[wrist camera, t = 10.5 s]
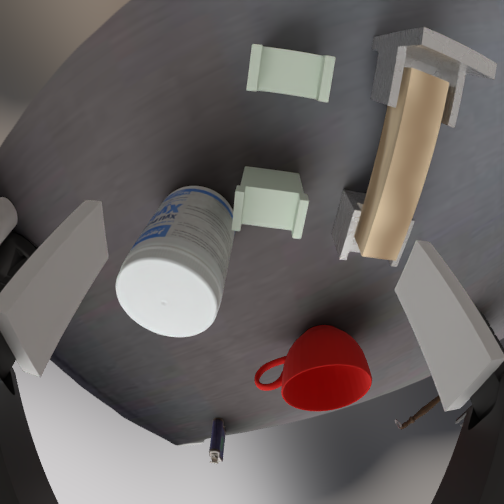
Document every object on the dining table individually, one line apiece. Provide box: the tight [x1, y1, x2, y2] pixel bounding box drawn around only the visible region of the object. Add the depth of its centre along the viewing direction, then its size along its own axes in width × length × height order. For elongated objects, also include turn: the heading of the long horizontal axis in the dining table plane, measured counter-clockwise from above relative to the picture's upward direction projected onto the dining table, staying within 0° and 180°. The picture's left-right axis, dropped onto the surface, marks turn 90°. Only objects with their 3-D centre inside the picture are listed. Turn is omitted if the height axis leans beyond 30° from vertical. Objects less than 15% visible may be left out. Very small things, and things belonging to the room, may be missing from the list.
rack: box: [232, 44, 336, 239], centre depth 28 cm, size 7×17×8 cm, turn 173°
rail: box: [354, 67, 449, 261], centre depth 27 cm, size 4×19×4 cm, turn 174°
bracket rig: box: [332, 27, 497, 267], centre depth 26 cm, size 7×24×12 cm, turn 173°
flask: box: [209, 418, 226, 464], centre depth 64 cm, size 9×3×11 cm, turn 1°
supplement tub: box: [116, 186, 235, 337], centre depth 32 cm, size 10×10×15 cm
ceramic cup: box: [255, 325, 372, 411], centre depth 44 cm, size 13×17×10 cm
